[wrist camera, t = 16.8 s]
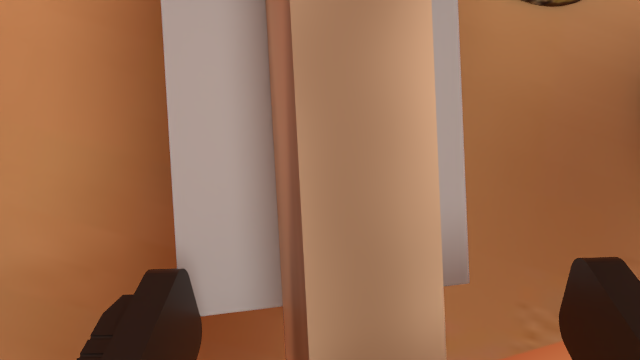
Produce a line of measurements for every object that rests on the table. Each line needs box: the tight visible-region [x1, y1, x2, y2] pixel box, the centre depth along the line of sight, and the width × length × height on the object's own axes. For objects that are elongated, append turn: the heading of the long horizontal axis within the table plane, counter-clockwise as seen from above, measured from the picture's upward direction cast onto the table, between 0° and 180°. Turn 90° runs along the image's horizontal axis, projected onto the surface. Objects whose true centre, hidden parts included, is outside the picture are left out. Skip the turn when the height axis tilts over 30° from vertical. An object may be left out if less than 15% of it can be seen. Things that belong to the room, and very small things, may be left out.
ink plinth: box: [161, 0, 469, 316], centre depth 24 cm, size 8×20×24 cm, turn 4°
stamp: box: [266, 0, 447, 360], centre depth 11 cm, size 5×24×4 cm, turn 4°
